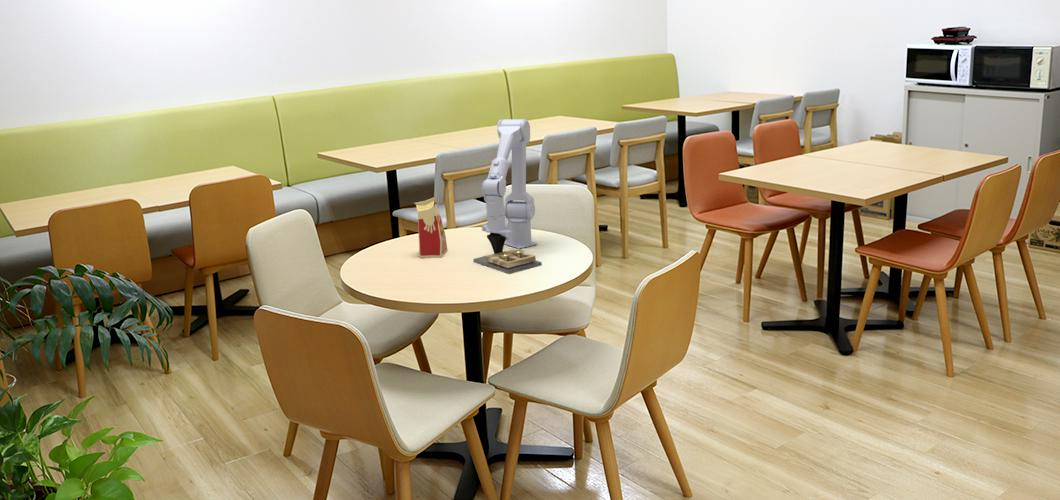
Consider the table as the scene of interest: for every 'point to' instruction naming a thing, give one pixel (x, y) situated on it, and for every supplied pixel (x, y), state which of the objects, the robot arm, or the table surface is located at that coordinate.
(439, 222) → the red snack bag
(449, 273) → the table surface
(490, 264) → the silver double slider board
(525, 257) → the panel
